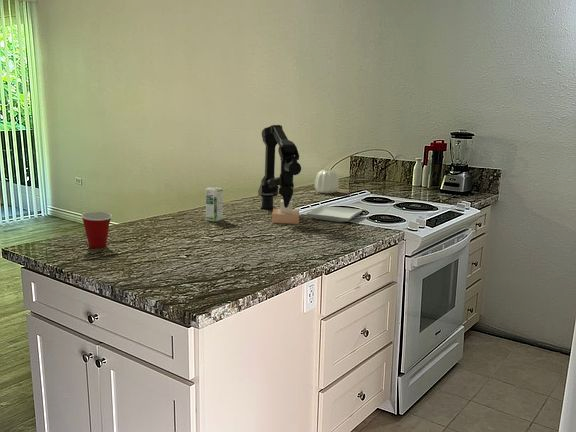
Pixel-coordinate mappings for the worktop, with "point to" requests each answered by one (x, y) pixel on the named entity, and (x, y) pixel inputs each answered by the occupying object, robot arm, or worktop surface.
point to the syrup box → (214, 204)
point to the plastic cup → (96, 228)
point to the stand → (285, 216)
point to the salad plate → (333, 213)
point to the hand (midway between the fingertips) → (286, 206)
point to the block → (285, 210)
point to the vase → (326, 181)
